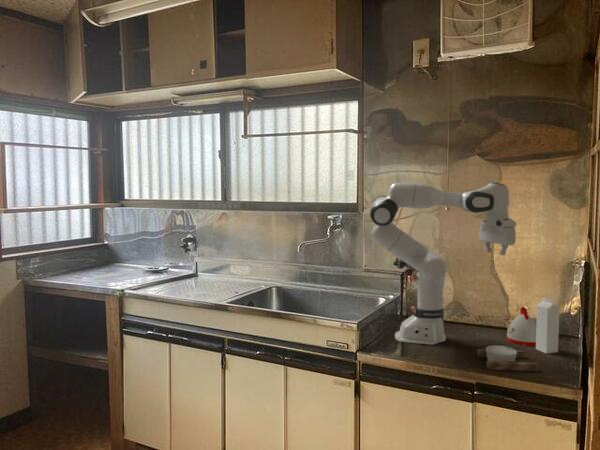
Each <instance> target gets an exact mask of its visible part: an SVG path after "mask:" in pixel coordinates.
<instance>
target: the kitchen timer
mask: <svg viewBox="0 0 600 450" xmlns="http://www.w3.org/2000/svg"><path fill="white" fill-rule="evenodd" d="M519 310H520V311H519V312H520V315H517V316H516V317H515V318H514V319H513V320H512V321H511V323H508V325H507V332H506V341H508V342H509V343H511V344H514V345H519V346H526V347H527V346H528V347H536V324H537V322H536V321H535V320H534V319H533V318H532V317H531V316H530V315H529V314H528V313H529V312H528V311H527V308H526V307H525V306H521V307H520V309H519Z"/></svg>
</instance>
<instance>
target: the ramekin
mask: <svg viewBox="0 0 600 450" xmlns="http://www.w3.org/2000/svg"><path fill="white" fill-rule="evenodd" d="M485 349H486V352H487V357H486V358H487V361H495V362H516V359H517V358H516V355H517V351H516V350H517V349H515V348H513V347H509V346H505V345H498V344H497V345H494V344H493V345H488V346H486V347H485Z"/></svg>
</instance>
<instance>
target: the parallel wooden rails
mask: <svg viewBox="0 0 600 450" xmlns="http://www.w3.org/2000/svg"><path fill="white" fill-rule="evenodd" d="M515 350H516V351H517V355H516V358H515V359H526V351H525V350H521V349H515ZM476 352H477V353H476V355H477V357H479V358H487V352H486V348H485V349H484V348H483V349H482V348H480V349H479V348H477V351H476ZM486 369H487V370H489V371H491V370H492V371H494V370H495V371H519V372H520V371H521V372H538V371H539V364H538V363H537V362H529V361H527V362H525V361H523V362H522V361H519V362H518V361H515V362H495V361H488V360H486Z"/></svg>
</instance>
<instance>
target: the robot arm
mask: <svg viewBox="0 0 600 450" xmlns="http://www.w3.org/2000/svg"><path fill="white" fill-rule="evenodd" d="M509 204H510V191H509V188H508V186H507V185H506V184H504V183H503V184H502V183H499V182H489V183H488V184H487V185H485V186H482V187H481V188H478V189H469V190H466V191H463V192H457V191H456V192H455V191H445V190H441V189H437V188H436V187H434V186H431V185H429V184H426V183H425V184H424V183H420V182H409V181H408V182H406V181H404V182H395V183H392V184H391V185H390V186H389V188H388V191H387V195H380V196H377V197H376V198H375V199H373V201H372V204H371V206H370V208H369V210H370V213H369V216H370V219H371V221H372V222H373V223H374V226H373V228H372V231H371V237H372V239H374V240H375V242H377V243H378V245H379V246H381V247H382V248H384V249H385V250H386V251H388V252H389V253H391V254H392V255H393V256H395V257H396V258H398V259H399V260H401V261H402V262H404V263H405V264H407V265H409V266H410V267H411V268H413V269H414V270H416V271H417V272H419V279H418V287H417V299H416V300H417V302H416V303H417V305H416V306H414V305H412V306H411V307H410V310H411V311H412V315H411V316H409V317H408V318H406V319H405V320H403V321H402V322H401V325H400V327H399V330H398V331H396V332H395V333H394V339H395V340H396V341H398V342H400V343H408V344H423V345H432V346H433V345H437V344H438V343H442V342H445V341H446V340H447V337H446V334H445V330H444V317H445V311H444V308H443V302H444V300H443V299H444V297H443V296H444V295H443V294H444V285H445V279H446V272H447V265H446V263H445V260H444V259H443V258H442V257H441V256H439V255H438V254H436V253H435V252H433V251H432V250H431V249H429V248H428V247H426V246H425V245H424V244H423V243H421V242H420V241H418V240H416V239H415V238H414V237H412V236H411V235H410V234H407V233H406V232H405V231H403V230H402V229H400V228H398V227H397V226H396V225H395V224H394V223H393V221H394V220H395V217H396V215H397V213H398V211H399V209H400V208H409V209H428V208H429V209H430V208H432V207H436V206H449V207H457V208H461V209H463V210H464V211H466V212H469V213H473V214H480V213H484V212H485V219H484V220H483V221H482V222H481V224H480V225H479V226H480V227H479V231H478V232H479V233H478V239H479V240H480V242H484V246H485V252H487V253H492V251H493V250H492V247H491V243H493V244H498V245H501V250H499V255H500V256H505V255H506V253H507V249H508V248H509V246H514V245H515V243H516V238H517V237H516V233H517V232H516V228H515V227H516V226H517V222H516V221H515V220H513V219H512V218H511V217H509V211H508V210H509V209H508V208H509Z"/></svg>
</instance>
